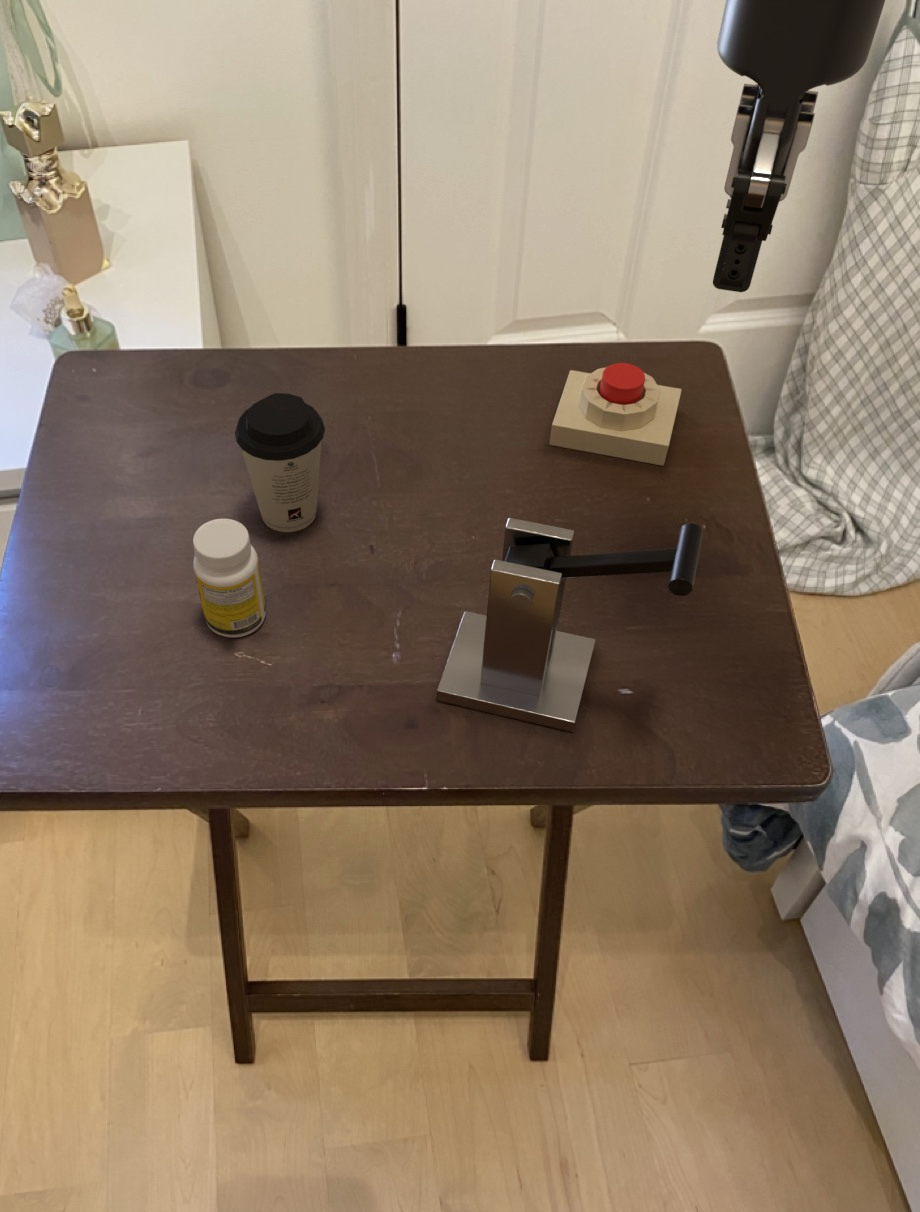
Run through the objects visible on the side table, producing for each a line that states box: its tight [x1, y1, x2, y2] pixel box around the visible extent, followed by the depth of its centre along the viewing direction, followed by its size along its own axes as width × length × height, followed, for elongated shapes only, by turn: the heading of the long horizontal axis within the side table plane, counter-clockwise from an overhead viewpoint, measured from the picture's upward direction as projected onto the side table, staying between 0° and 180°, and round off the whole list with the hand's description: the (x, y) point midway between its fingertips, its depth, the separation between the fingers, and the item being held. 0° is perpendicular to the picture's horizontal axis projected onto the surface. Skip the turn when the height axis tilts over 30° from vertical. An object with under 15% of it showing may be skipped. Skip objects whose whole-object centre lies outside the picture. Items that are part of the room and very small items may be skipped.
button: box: [600, 362, 645, 405], centre depth 93 cm, size 4×4×2 cm
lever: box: [505, 522, 704, 597], centre depth 69 cm, size 12×5×2 cm, turn 73°
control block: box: [549, 366, 683, 467], centre depth 95 cm, size 10×8×4 cm
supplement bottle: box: [192, 518, 267, 638], centre depth 80 cm, size 5×5×8 cm
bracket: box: [436, 517, 596, 733], centre depth 75 cm, size 10×8×13 cm
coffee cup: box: [234, 392, 326, 533], centre depth 86 cm, size 7×7×10 cm
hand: (730, 283), depth 66 cm, fingers closed
